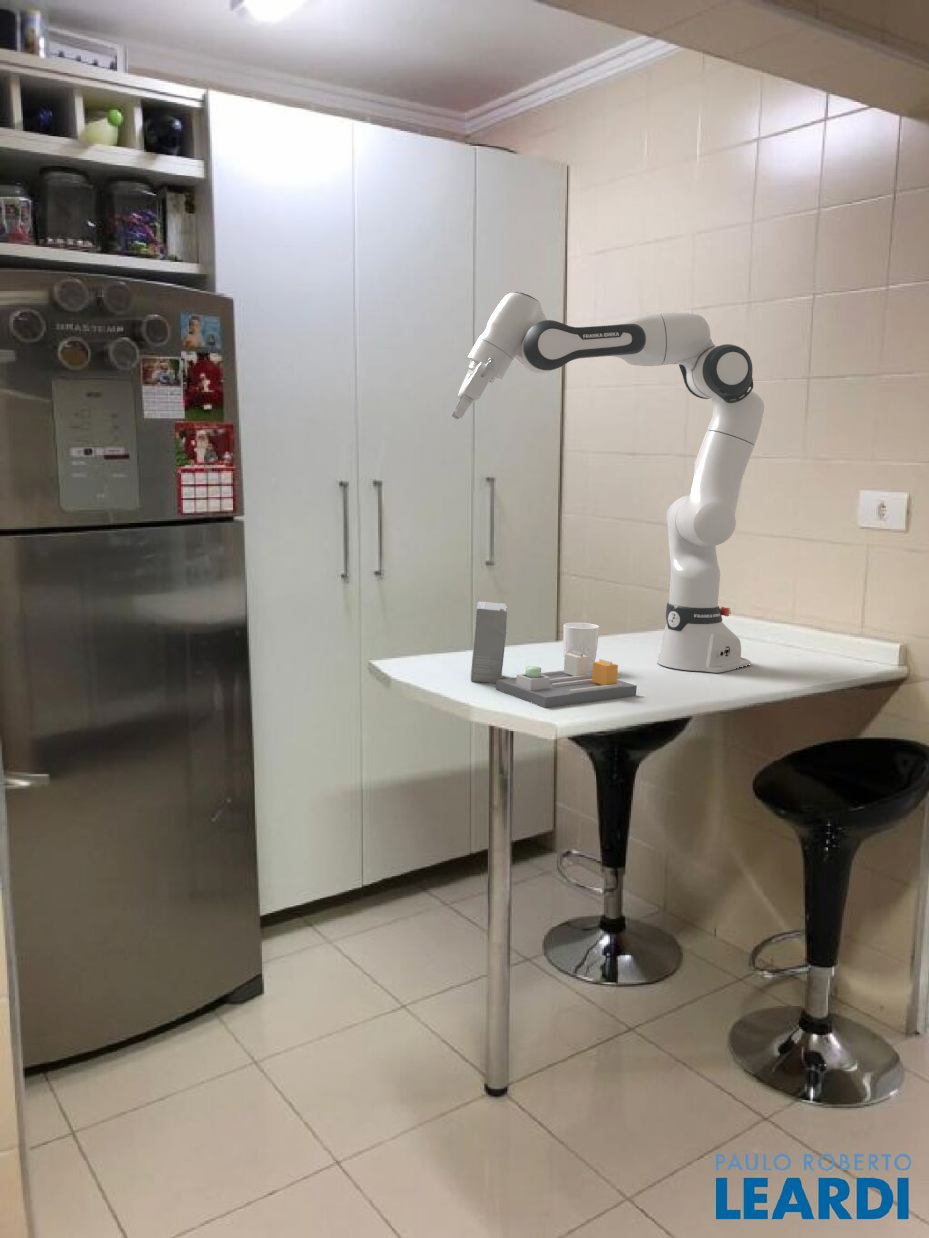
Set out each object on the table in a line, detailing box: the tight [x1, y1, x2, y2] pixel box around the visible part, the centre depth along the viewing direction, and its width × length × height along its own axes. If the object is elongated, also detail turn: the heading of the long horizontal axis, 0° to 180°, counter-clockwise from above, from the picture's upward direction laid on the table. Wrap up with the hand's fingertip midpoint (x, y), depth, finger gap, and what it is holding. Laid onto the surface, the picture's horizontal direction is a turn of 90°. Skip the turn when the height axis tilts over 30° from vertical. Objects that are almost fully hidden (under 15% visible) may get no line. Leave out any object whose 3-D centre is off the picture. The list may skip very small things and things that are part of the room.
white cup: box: [562, 622, 600, 672], centre depth 222 cm, size 8×8×10 cm
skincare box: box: [470, 601, 508, 684], centre depth 209 cm, size 8×7×16 cm
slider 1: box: [563, 651, 589, 676], centre depth 207 cm, size 3×4×5 cm
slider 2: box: [592, 658, 619, 685], centre depth 199 cm, size 3×4×5 cm
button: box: [525, 665, 542, 679], centre depth 195 cm, size 3×3×2 cm
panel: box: [496, 669, 637, 709], centre depth 200 cm, size 23×16×4 cm
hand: (456, 417), depth 218 cm, fingers open, 8 cm apart
